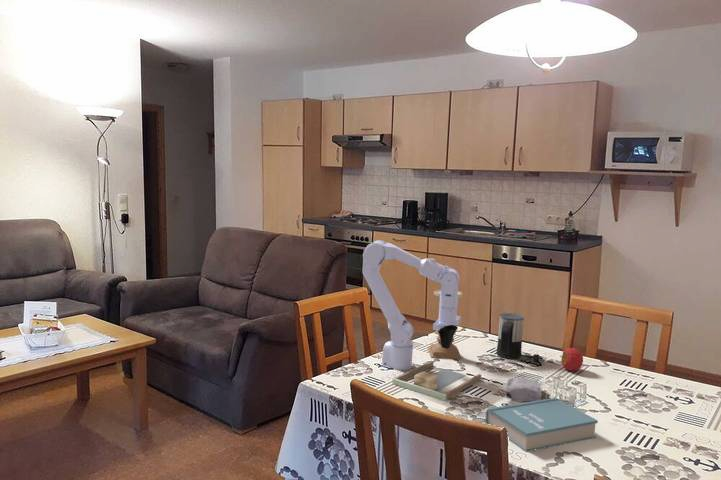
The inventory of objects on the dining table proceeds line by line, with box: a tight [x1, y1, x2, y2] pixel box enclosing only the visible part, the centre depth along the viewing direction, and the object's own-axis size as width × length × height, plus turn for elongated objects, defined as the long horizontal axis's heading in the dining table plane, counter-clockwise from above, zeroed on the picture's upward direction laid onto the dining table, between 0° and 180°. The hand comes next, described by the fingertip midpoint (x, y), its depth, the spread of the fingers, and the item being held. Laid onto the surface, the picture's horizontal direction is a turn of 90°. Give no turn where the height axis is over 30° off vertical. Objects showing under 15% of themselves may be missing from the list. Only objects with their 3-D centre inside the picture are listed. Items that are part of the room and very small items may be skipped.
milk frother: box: [495, 312, 544, 363], centre depth 204 cm, size 14×16×15 cm
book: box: [484, 397, 599, 453], centre depth 147 cm, size 23×16×5 cm
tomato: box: [559, 347, 584, 372], centre depth 194 cm, size 8×8×8 cm
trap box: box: [392, 360, 482, 402], centre depth 174 cm, size 18×23×3 cm
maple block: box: [413, 370, 438, 390], centre depth 168 cm, size 5×5×4 cm
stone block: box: [505, 376, 542, 402], centre depth 171 cm, size 12×5×10 cm
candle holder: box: [427, 288, 464, 360], centre depth 200 cm, size 11×11×24 cm
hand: (445, 347), depth 183 cm, fingers closed
